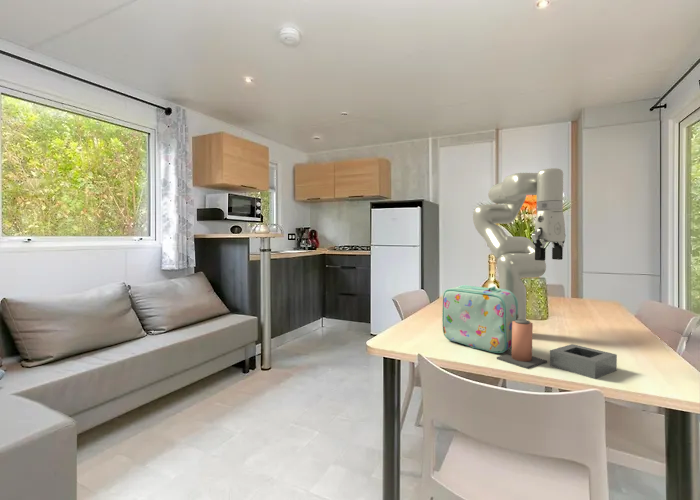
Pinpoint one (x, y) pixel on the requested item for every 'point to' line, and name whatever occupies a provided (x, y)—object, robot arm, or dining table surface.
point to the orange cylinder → (522, 340)
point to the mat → (527, 365)
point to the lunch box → (480, 317)
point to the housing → (583, 360)
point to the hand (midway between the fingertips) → (548, 259)
